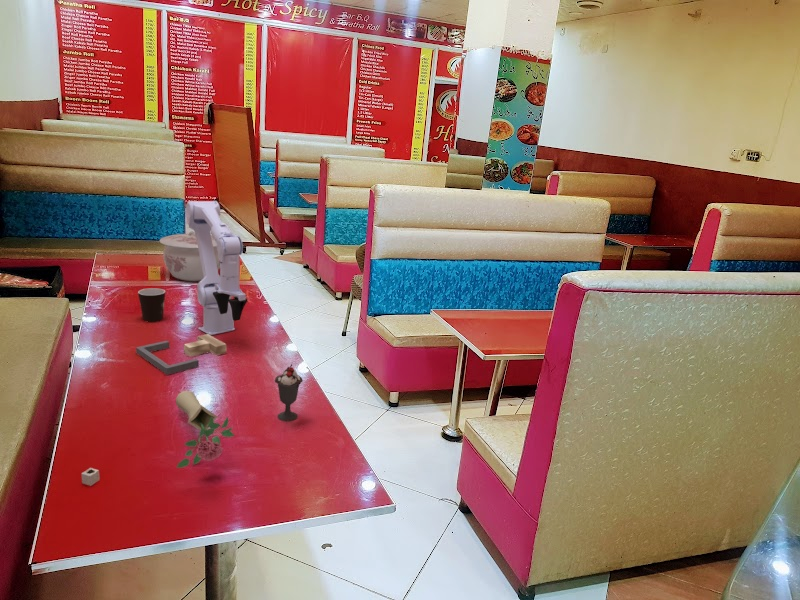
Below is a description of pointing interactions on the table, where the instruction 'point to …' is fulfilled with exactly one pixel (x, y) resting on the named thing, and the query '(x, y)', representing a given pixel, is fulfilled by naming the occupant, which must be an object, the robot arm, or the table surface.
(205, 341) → the T block
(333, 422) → the table surface
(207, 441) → the flower vase
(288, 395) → the sundae
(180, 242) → the chamber pot
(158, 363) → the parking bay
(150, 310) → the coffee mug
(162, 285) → the table surface
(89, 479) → the beige hollow cube
